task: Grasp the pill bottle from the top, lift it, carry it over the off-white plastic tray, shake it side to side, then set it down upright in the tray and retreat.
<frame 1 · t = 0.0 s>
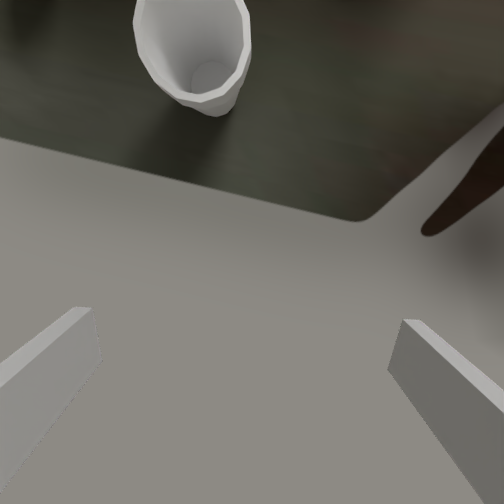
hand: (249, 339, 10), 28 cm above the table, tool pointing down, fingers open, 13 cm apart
foam cup: (214, 90, 31), on the table
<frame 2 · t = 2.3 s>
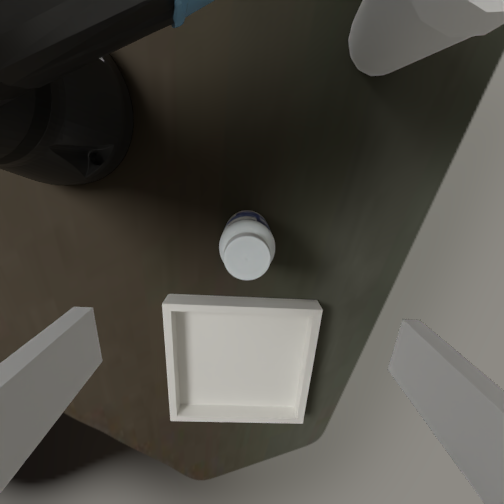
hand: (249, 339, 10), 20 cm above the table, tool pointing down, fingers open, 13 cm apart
tray: (240, 356, 35), on the table
foam cup: (379, 39, 23), on the table
pill bottle: (247, 231, 29), on the table
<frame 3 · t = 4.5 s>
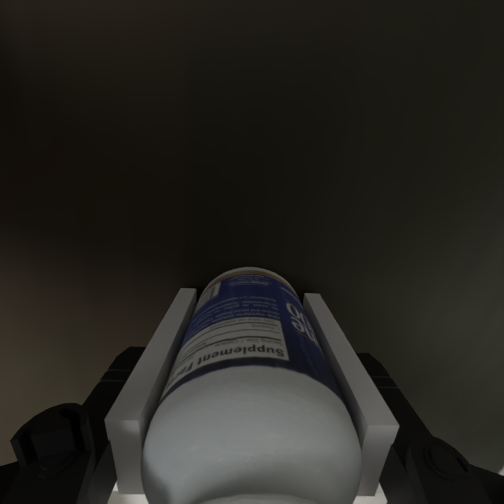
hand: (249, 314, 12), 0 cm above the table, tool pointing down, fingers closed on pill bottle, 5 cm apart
pill bottle: (249, 309, 13), on the table, touching gripper
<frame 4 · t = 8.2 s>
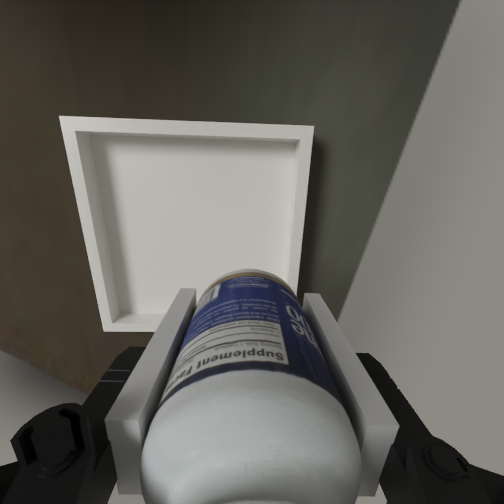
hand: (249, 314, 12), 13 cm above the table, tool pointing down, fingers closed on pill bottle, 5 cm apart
tray: (199, 235, 24), on the table
pill bottle: (248, 310, 12), point 13 cm above the table, touching gripper
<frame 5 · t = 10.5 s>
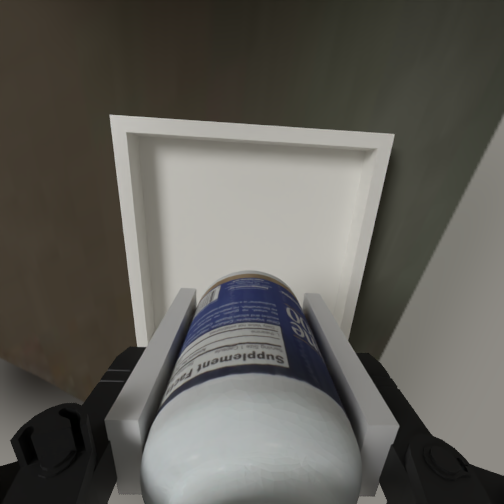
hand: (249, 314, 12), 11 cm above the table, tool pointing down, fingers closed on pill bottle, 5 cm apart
tray: (247, 249, 22), on the table
pill bottle: (249, 312, 12), point 10 cm above the table, touching gripper
when the fingers open (2 cm above the table, at t = 12.1 s): pill bottle drops 1 cm, resting on tray.
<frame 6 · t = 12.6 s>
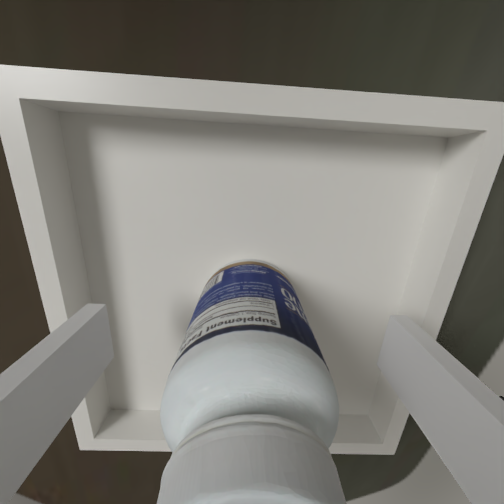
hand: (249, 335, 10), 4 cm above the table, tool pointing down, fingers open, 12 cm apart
tray: (248, 293, 14), on the table
pill bottle: (248, 297, 14), resting on tray
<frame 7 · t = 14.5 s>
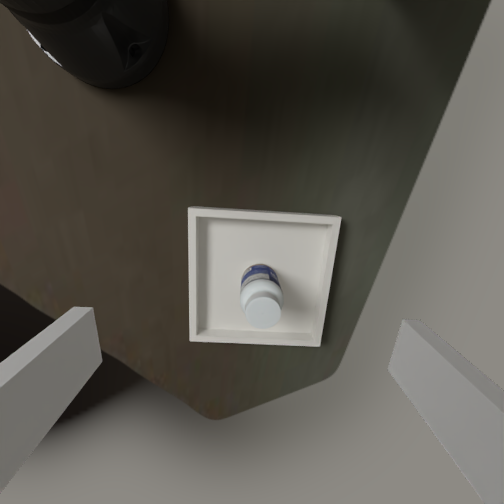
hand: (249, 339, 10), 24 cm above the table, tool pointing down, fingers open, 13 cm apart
tray: (259, 277, 36), on the table
pill bottle: (259, 278, 35), resting on tray
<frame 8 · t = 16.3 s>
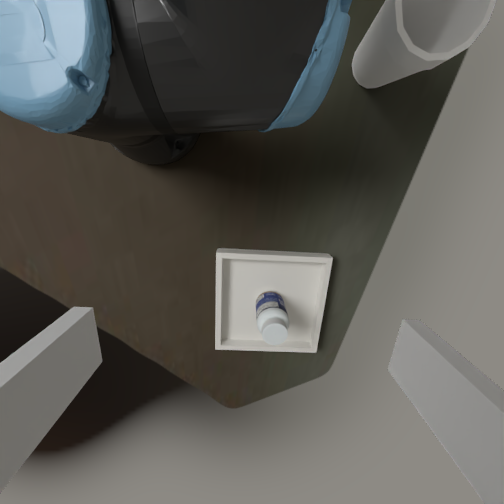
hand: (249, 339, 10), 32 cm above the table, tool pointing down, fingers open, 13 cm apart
tray: (269, 299, 45), on the table
foam cup: (373, 63, 34), on the table
pill bottle: (269, 301, 45), resting on tray
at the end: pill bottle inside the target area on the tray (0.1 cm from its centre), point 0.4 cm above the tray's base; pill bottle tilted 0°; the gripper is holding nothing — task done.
